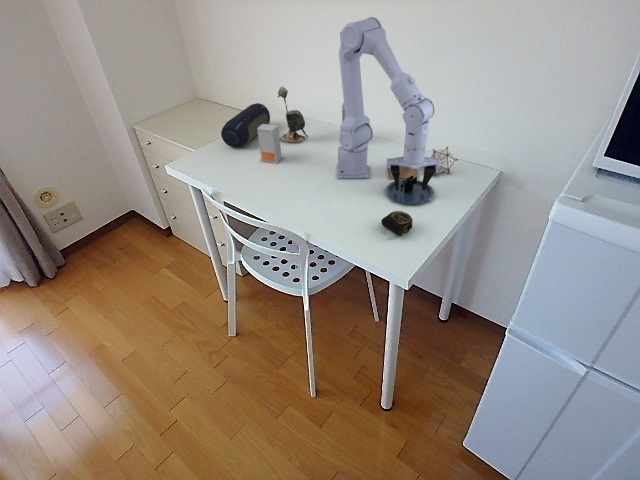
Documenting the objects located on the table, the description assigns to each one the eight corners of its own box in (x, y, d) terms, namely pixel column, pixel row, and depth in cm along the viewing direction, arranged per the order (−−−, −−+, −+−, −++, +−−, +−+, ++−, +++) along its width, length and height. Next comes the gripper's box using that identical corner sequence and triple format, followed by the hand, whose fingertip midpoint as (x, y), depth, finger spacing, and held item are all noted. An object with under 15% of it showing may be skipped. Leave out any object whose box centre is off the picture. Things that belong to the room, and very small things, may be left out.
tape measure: (379, 227, 106) (380, 216, 103) (398, 218, 109) (400, 207, 106) (397, 240, 101) (398, 228, 99) (417, 230, 104) (418, 218, 102)
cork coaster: (390, 179, 125) (390, 178, 125) (388, 166, 132) (388, 165, 132) (417, 179, 125) (417, 178, 124) (414, 166, 131) (414, 165, 131)
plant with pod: (298, 147, 146) (294, 92, 133) (276, 140, 152) (270, 86, 139) (313, 140, 150) (310, 85, 138) (291, 132, 156) (286, 80, 144)
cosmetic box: (261, 161, 138) (256, 128, 131) (267, 155, 141) (262, 123, 134) (276, 163, 136) (272, 130, 129) (282, 158, 140) (278, 125, 132)
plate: (388, 205, 114) (388, 202, 113) (385, 181, 124) (386, 178, 123) (435, 205, 113) (436, 202, 112) (429, 182, 123) (429, 179, 122)
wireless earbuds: (414, 186, 121) (416, 171, 117) (420, 189, 119) (422, 174, 116) (398, 194, 117) (399, 179, 114) (404, 198, 116) (406, 182, 113)
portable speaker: (244, 152, 144) (240, 126, 138) (220, 149, 147) (215, 123, 141) (275, 125, 162) (272, 101, 156) (253, 123, 165) (249, 99, 159)
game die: (443, 185, 128) (458, 171, 119) (418, 175, 128) (432, 160, 118) (449, 162, 131) (465, 146, 122) (425, 152, 131) (439, 136, 121)
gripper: (389, 152, 106) (385, 195, 115) (444, 152, 105) (437, 196, 114) (387, 140, 112) (384, 183, 120) (440, 140, 111) (433, 183, 119)
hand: (410, 188), depth 117 cm, fingers open, 7 cm apart
